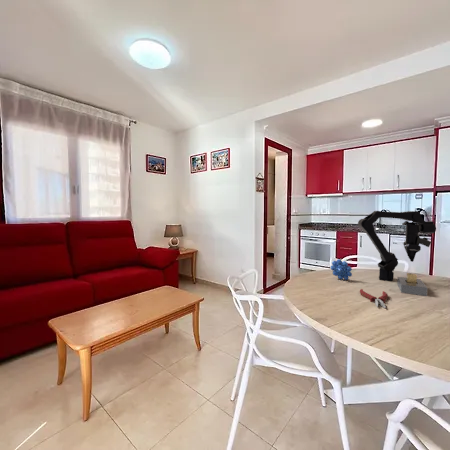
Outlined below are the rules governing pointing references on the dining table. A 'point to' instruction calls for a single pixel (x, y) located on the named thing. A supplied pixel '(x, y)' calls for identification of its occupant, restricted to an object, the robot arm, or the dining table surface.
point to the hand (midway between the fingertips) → (411, 260)
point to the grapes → (341, 269)
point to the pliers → (373, 299)
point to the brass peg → (411, 278)
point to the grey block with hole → (412, 287)
